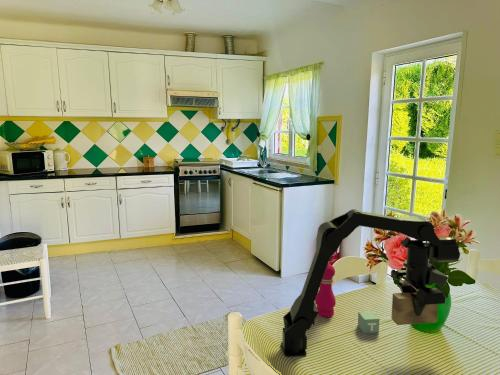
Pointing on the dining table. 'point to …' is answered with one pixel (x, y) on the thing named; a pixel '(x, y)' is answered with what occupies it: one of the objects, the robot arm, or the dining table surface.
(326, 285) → the pepper mill
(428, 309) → the wooden block
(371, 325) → the letter cube
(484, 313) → the dining table surface
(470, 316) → the dining table surface
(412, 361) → the dining table surface
